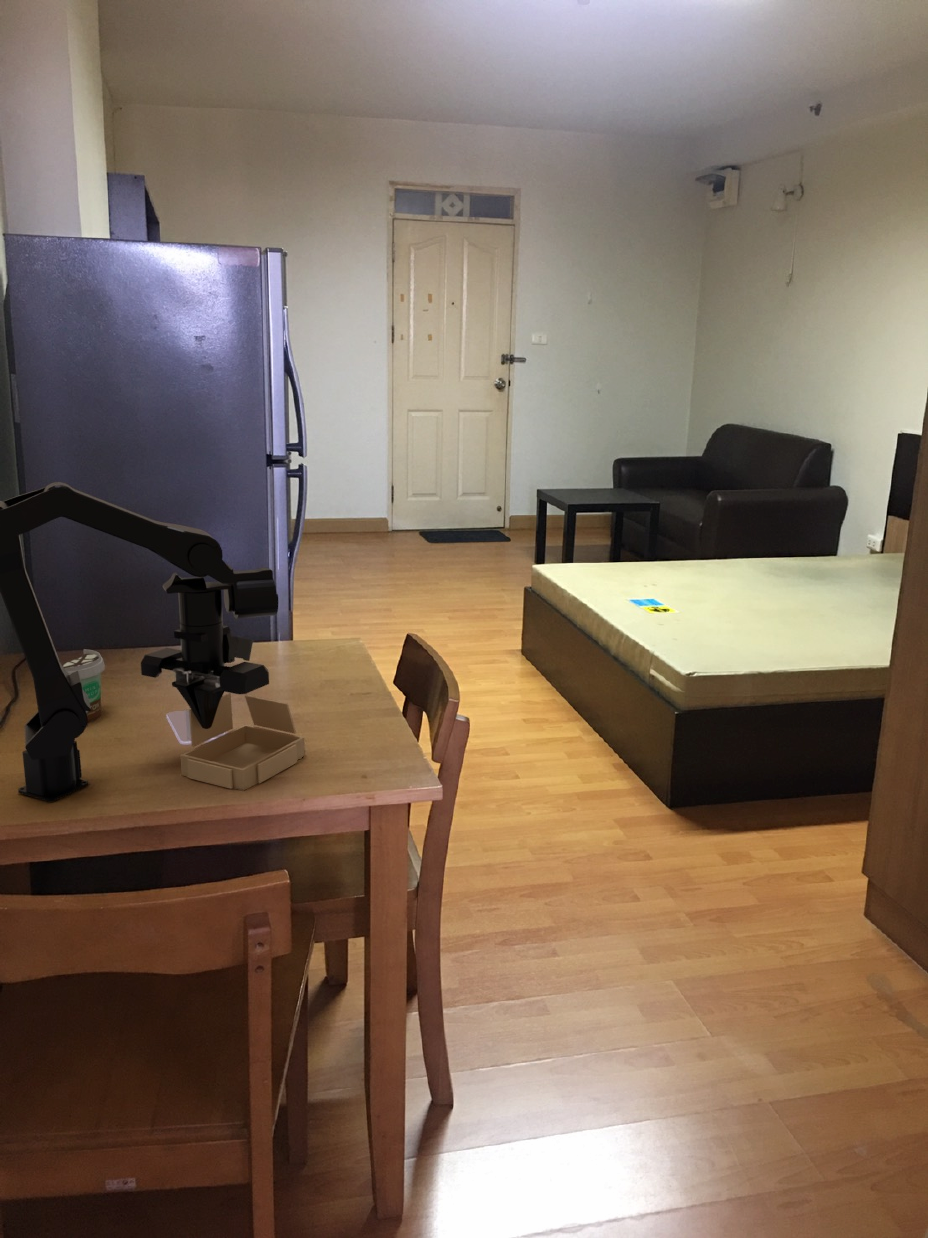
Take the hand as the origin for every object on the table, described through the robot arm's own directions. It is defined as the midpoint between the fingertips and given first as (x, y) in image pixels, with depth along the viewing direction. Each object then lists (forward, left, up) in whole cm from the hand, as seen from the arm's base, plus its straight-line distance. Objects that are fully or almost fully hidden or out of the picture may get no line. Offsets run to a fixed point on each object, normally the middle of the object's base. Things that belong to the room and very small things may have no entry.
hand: (207, 728), depth 138 cm
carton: (+3, -4, -6) cm, 8 cm away
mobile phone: (+12, +13, -7) cm, 19 cm away
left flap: (+3, +2, -3) cm, 4 cm away
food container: (+6, +31, -6) cm, 32 cm away
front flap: (+10, -4, -3) cm, 11 cm away
